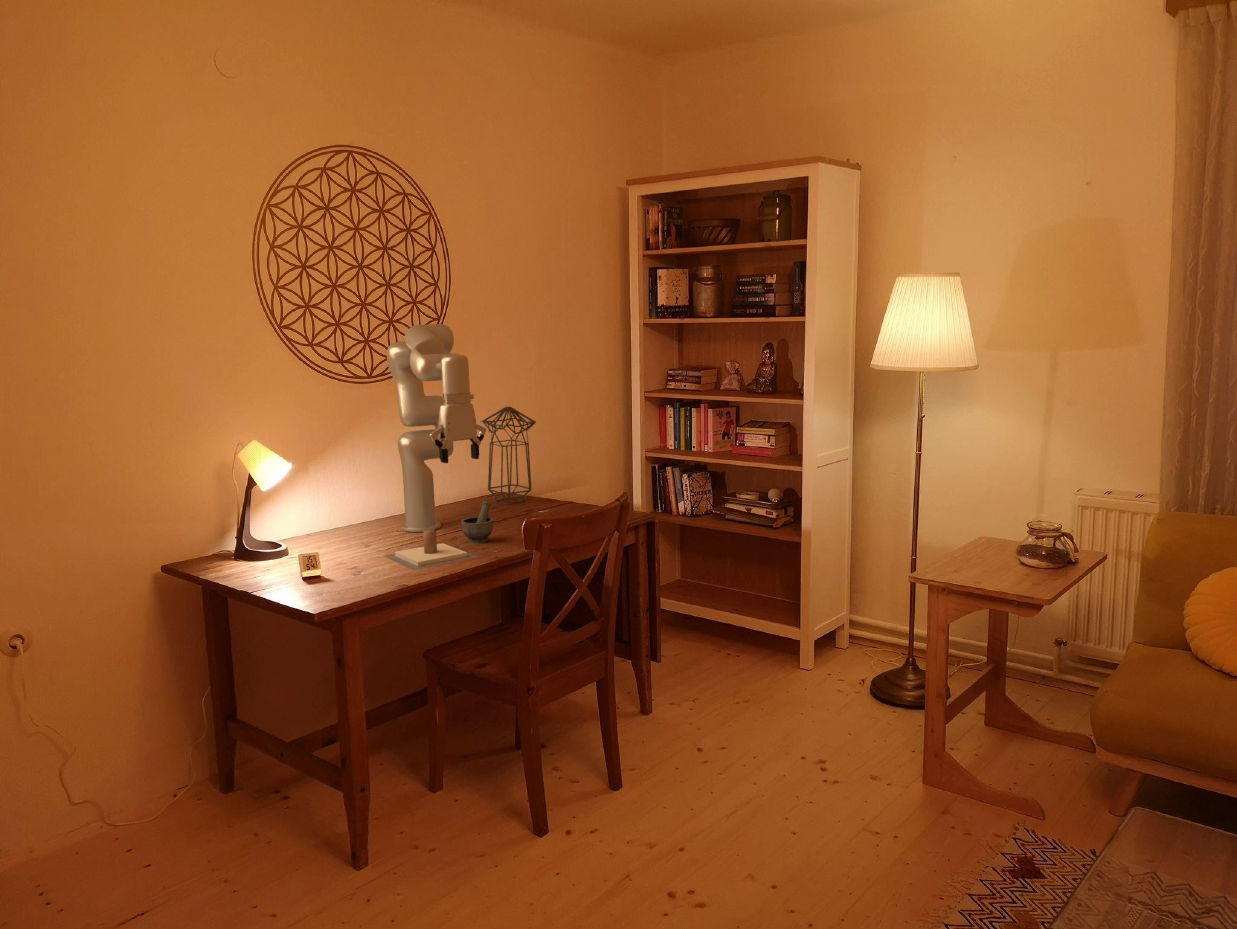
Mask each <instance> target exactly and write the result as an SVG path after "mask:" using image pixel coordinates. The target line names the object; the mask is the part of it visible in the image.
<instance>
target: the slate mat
mask: <svg viewBox="0 0 1237 929" xmlns="http://www.w3.org/2000/svg"><path fill="white" fill-rule="evenodd" d="M445 544H446V545H449V544H447V543H445ZM449 546H451V547H454V548H456V549H459V550H461V551H464V552H467V551H465V550H463V549H460V548H459V547H458V548H457V547H455V546H453V545H449ZM383 557H385V558H387V559H389V560H391V561H393V562H395V563H397V564H399V565H401V566H404V567H406V568H408V569H410V570H412V571H416V570H422V569H426V568H431V567H436V566H441V565H446V564H452V563H457V562H461V561H467V560H472V559H473V560H474V559H477V558H479V556H477V555H475V554H473V553H470V552H467V557H464V558H459V559H453V560H448V561H443V562H438V563H433V564H428V565H422V566H416V565H414V564H412V563H410V562H407V561H405V560H403V559H401V558H398V557H396V556H395V553H392V554H388V555H387V554H386V555H383Z"/></svg>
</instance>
